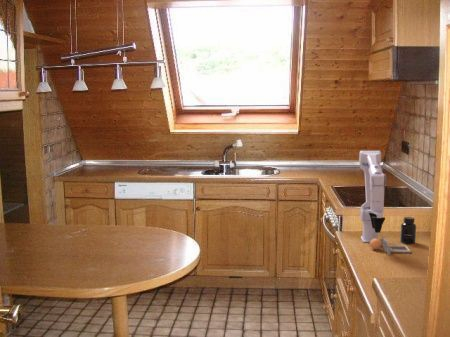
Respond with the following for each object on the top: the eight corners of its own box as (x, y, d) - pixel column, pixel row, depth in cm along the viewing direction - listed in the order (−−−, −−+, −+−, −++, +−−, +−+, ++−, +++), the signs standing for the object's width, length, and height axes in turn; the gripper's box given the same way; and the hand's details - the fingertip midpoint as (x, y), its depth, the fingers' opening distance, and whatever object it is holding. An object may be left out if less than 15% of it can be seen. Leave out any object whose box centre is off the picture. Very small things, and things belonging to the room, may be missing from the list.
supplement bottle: (405, 245, 243) (406, 219, 241) (397, 241, 249) (398, 216, 248) (418, 243, 245) (419, 218, 243) (409, 240, 251) (410, 215, 250)
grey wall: (381, 244, 244) (381, 236, 243) (383, 244, 244) (384, 236, 243) (388, 254, 228) (388, 245, 227) (390, 254, 228) (390, 245, 227)
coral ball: (369, 247, 239) (369, 237, 238) (380, 248, 238) (380, 237, 238) (370, 250, 234) (371, 239, 233) (382, 251, 233) (382, 240, 233)
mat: (385, 246, 241) (385, 244, 241) (405, 246, 240) (406, 244, 240) (390, 253, 230) (390, 250, 230) (411, 253, 229) (411, 251, 229)
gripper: (365, 197, 241) (364, 226, 243) (370, 203, 227) (369, 234, 228) (381, 197, 240) (380, 226, 242) (387, 203, 226) (386, 234, 228)
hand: (376, 230), depth 235 cm, fingers open, 7 cm apart
